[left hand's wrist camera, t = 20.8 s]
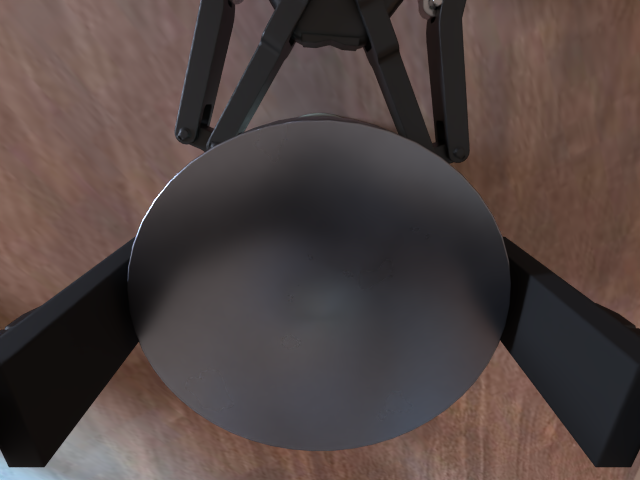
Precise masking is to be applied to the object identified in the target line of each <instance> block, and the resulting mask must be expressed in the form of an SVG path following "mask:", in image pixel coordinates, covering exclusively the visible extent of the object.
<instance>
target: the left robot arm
mask: <svg viewBox="0 0 640 480" xmlns="http://www.w3.org/2000/svg"><path fill="white" fill-rule="evenodd" d="M135 238H136V237H134V238H133V239H131V240H130V241H129V242H127V243H126V244H125V245H123V246H122V247H121V248H119V249H118V250H116V251H115V252H114V253H112V254H111V255H110V256H108V257H107V258H106V259H104V260H103V261H102V262H100V263H99V264H97V265H96V266H95V267H93V268H92V269H91V270H89V271H88V272H87V273H85V274H84V275H83V276H81V277H80V278H78V279H77V280H76V281H74V282H73V283H72V284H70V285H69V286H68V287H66V288H65V289H64V290H62V291H61V292H59V293H58V294H57V295H55V296H54V297H53V298H51V299H50V300H49V301H47V302H46V303H45V304H43V305H42V306H40V307H38V308H36V309H33V310H31V311H29V312H27V313H25V314H23V315H21V316H20V317H19V318H17V319H16V320H14V321H13V322H12V323H10V324H9V325H7V326H6V327H5V330H1V331H0V450H1V452H2V454H3V456H4V458H5V460H6V462H7V464H8V466H9V467H45V466H46V464H47V463H48V462H49V460H50V459H51V458H52V456H53V455H54V454H55V452H56V451H57V450H58V448H59V447H60V446H61V444H62V443H63V442H64V440H65V439H66V438H67V436H68V435H69V434H70V433H71V431H72V430H73V429H74V427H75V426H76V425H77V423H78V422H79V421H80V419H81V418H82V417H83V415H84V414H85V413H86V411H87V410H88V409H89V407H90V406H91V405H92V403H93V402H94V401H95V399H96V398H97V397H98V395H99V394H100V393H101V391H102V390H103V389H104V387H105V386H106V385H107V383H108V382H109V381H110V379H111V378H112V377H113V375H114V374H115V373H116V371H117V370H118V369H119V367H120V366H121V365H122V363H123V362H124V361H125V359H126V358H127V357H128V355H129V354H130V353H131V351H132V350H133V349H134V347H135V346H136V345H137V343H138V342H139V340H138V338H137V335H136V333H135V330H134V326H133V322H132V318H131V315H130V310H129V301H128V291H127V286H128V267H129V262H130V257H131V252H132V248H133V243H134V241H135ZM503 241H504V244H505V248H506V252H507V256H508V260H509V269H510V280H511V289H510V305H509V310H508V315H507V319H506V324H505V328H504V330H503V333H502V336H501V338H500V341H501V342H502V343H503V345H504V346H505V347H506V349H507V350H508V351H509V353H510V354H511V355H512V357H513V358H514V359H515V361H516V362H517V363H518V365H519V366H520V367H521V369H522V370H523V371H524V373H525V374H526V375H527V377H528V378H529V379H530V381H531V382H532V383H533V385H534V386H535V387H536V389H537V390H538V391H539V393H540V394H541V395H542V397H543V398H544V399H545V401H546V402H547V403H548V405H549V406H550V407H551V409H552V410H553V411H554V413H555V414H556V415H557V417H558V418H559V419H560V421H561V422H562V423H563V425H564V426H565V427H566V428H567V430H568V431H569V432H570V434H571V435H572V436H573V438H574V439H575V440H576V442H577V443H578V444H579V446H580V447H581V448H582V450H583V451H584V452H585V454H586V455H587V456H588V458H589V459H590V460H591V462H592V463H593V464H594V466H595V467H631V466H632V464H633V462H634V460H635V458H636V456H637V454H638V452H639V450H640V329H639V328H636V327H635V325H634V324H632V323H631V322H629V321H628V320H627V319H625V318H624V317H622V316H621V315H620V314H618V313H616V312H614V311H612V310H610V309H608V308H605V307H603V306H601V305H599V304H597V303H594V302H593V301H591V300H590V299H589V298H587V297H586V296H585V295H583V294H582V293H581V292H579V291H578V290H576V289H575V288H574V287H572V286H571V285H570V284H568V283H567V282H566V281H564V280H563V279H562V278H560V277H559V276H557V275H556V274H555V273H553V272H552V271H551V270H549V269H548V268H547V267H545V266H544V265H543V264H541V263H540V262H538V261H537V260H536V259H534V258H533V257H532V256H530V255H529V254H528V253H526V252H525V251H524V250H522V249H521V248H519V247H518V246H517V245H515V244H514V243H513V242H511V241H510V240H509V239H507V238H506V237H503Z"/></svg>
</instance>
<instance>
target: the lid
mask: <svg viewBox="0 0 640 480" xmlns="http://www.w3.org/2000/svg"><path fill="white" fill-rule="evenodd" d="M510 289H511V280H510V269H509V260H508V256H507V252H506V248H505V244H504V241H503V237H502V235H501V233H500V230H499V228H498V226H497V223H496V221H495V219H494V217H493V215H492V213H491V212H490V210H489V208H488V207H487V205H486V204H485V202H484V201H483V199H482V198H481V196H480V194H479V193H478V192H477V191H476V190H475V189H474V188H473V187H472V185H471V184H470V183H469V182H468V181H467V180H466V179H465V178H464V176H463V175H462V174H461V173H459V172H458V171H457V170H456V169H455V168H453V167H452V166H451V165H450V164H448V163H447V162H446V161H445V160H444V159H442V158H441V157H440V156H438V155H436V154H435V153H433V152H432V151H430V150H428V149H427V148H425V147H423V146H422V145H420V144H418V143H417V142H414V141H412V140H410V139H407V138H405V137H403V136H401V135H398V134H396V133H393V132H391V131H389V130H386V129H384V128H382V127H379V126H377V125H374V124H370V123H366V122H362V121H359V120H355V119H350V118H341V117H333V116H302V117H296V118H290V119H284V120H278V121H275V122H272V123H269V124H265V125H262V126H259V127H256V128H253V129H251V130H248V131H246V132H244V133H241V134H239V135H237V136H235V137H233V138H231V139H228V140H226V141H224V142H222V143H220V144H218V145H216V146H214V147H212V148H211V149H209V150H208V151H206V152H205V153H203V154H202V155H200V156H199V157H197V158H196V159H194V160H193V161H191V162H190V163H189V164H188V165H187V166H186V167H184V168H183V169H182V170H181V171H180V172H179V173H178V174H177V175H176V176H175V177H173V178H172V179H171V180H170V181H169V183H168V184H167V185H166V186H165V188H164V189H163V190H162V191H161V192H160V194H159V195H158V196H157V197H156V199H155V200H154V201H153V203H152V205H151V207H150V208H149V210H148V212H147V214H146V215H145V217H144V219H143V221H142V222H141V225H140V228H139V230H138V233H137V236H136V238H135V241H134V243H133V248H132V252H131V257H130V262H129V267H128V286H127V291H128V301H129V310H130V315H131V318H132V322H133V326H134V330H135V333H136V335H137V338H138V340H139V343H140V345H141V347H142V350H143V352H144V354H145V355H146V357H147V359H148V360H149V362H150V364H151V366H152V367H153V369H154V370H155V372H156V373H157V374H158V375H159V377H160V378H161V379H162V381H163V382H164V383H165V384H166V386H167V387H168V388H169V389H170V390H171V391H172V392H173V393H174V394H175V395H176V396H177V397H178V398H179V399H180V400H181V401H183V402H184V403H185V404H186V405H188V406H189V407H190V408H191V409H193V410H194V411H195V412H196V413H198V414H199V415H201V416H202V417H204V418H206V419H207V420H209V421H210V422H212V423H213V424H215V425H217V426H219V427H221V428H223V429H225V430H227V431H229V432H231V433H233V434H236V435H239V436H241V437H244V438H247V439H249V440H252V441H256V442H259V443H263V444H267V445H270V446H275V447H281V448H287V449H294V450H307V451H334V450H343V449H352V448H358V447H363V446H368V445H372V444H376V443H379V442H383V441H386V440H389V439H392V438H395V437H397V436H400V435H402V434H405V433H407V432H409V431H412V430H414V429H415V428H417V427H419V426H421V425H423V424H425V423H427V422H428V421H430V420H432V419H433V418H435V417H436V416H437V415H439V414H440V413H442V412H443V411H445V410H446V409H447V408H449V407H450V406H451V405H452V404H453V403H454V402H456V401H457V400H458V399H459V398H460V397H461V396H462V395H463V394H464V393H465V392H466V391H467V390H468V389H469V388H470V387H471V386H472V385H473V384H474V382H475V381H476V380H477V379H478V377H479V376H480V375H481V373H482V372H483V370H484V369H485V368H486V366H487V365H488V363H489V361H490V359H491V357H492V356H493V354H494V352H495V350H496V348H497V346H498V344H499V341H500V338H501V336H502V333H503V330H504V328H505V324H506V319H507V315H508V310H509V305H510Z"/></svg>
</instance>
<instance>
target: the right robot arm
mask: <svg viewBox="0 0 640 480" xmlns="http://www.w3.org/2000/svg"><path fill="white" fill-rule="evenodd" d="M269 1H270V3H271V4H272V6H273V8H274V10H275V11H274V13H273V15H272V17H271V19H270V20H269V22H268V24H267V26H266V28H265V30H264V32H263V34H262V37H261V41H260V44H259V46H258V47H257V49H256V51H255V53H254V55H253V57H252V59H251V61H250V63H249V64H248V66H247V68H246V70H245V72H244V74H243V76H242V78H241V80H240V81H239V83H238V85H237V87H236V89H235V91H234V93H233V95H232V96H231V98H230V100H229V102H228V104H227V106H226V108H225V110H224V112H223V113H222V115H221V117H220V119H219V121H218V123H217V125H216V127H215V129H214V128H211V127H209V126H210V121H211V117H212V113H213V109H214V104H215V100H216V96H217V92H218V87H219V83H220V79H221V75H222V70H223V66H224V62H225V58H226V53H227V49H228V45H229V41H230V36H231V32H232V28H233V23H234V16H235V4H240V3H241V2H243V0H201V2H200V7H199V12H198V17H197V22H196V27H195V32H194V37H193V42H192V47H191V52H190V57H189V62H188V67H187V72H186V77H185V82H184V87H183V92H182V97H181V102H180V106H179V111H178V116H177V121H176V126H175V136H176V138H177V140H178V141H179V142H181V143H182V144H190V145H192V146H194V147H197V148H199V149H201V150H203V151H204V152H206V151H208V150H209V149H211V148H212V147H214V146H216V145H218V144H220V143H222V142H224V141H226V140H228V139H231V138H233V137H235V136H237V135H239V134H241V133H244V131H245V129H246V128H247V126H248V124H249V122H250V120H251V119H252V117H253V115H254V113H255V112H256V110H257V108H258V106H259V104H260V103H261V101H262V99H263V97H264V96H265V94H266V92H267V90H268V88H269V87H270V85H271V83H272V81H273V80H274V78H275V76H276V74H277V72H278V71H279V69H280V67H281V65H282V64H283V62H284V60H285V59H286V58H287V57H288V55H289V53H290V52H291V50H292V48H293V46H294V45H295V43H296V42H297V43H299V44H301V45H303V47H310V48H318V47H323V46H327V45H331V46H334V47H336V48H339V49H341V50H349V51H356V50H357V49H359V48H362V47H363V48H364V51H365V53H366V56H367V58H368V61H369V63H370V65H371V66H372V68H373V70H374V73H375V75H376V78H377V80H378V83H379V86H380V88H381V91H382V93H383V96H384V98H385V101H386V103H387V106H388V109H389V111H390V114H391V116H392V119H393V121H394V124H395V127H396V129H397V132H398V134H399V135H401V136H403V137H405V138H407V139H410V140H412V141H414V142H417V143H418V144H420V145H422V146H423V147H425V148H427V149H428V150H430V151H432V152H433V153H435V154H436V155H438V156H440V157H441V158H442V159H444V160H445V161H446V162H447V163H448V164H449V163H453V162H455V163H460V162H463V161H464V160H466V159H467V157H468V155H469V151H470V150H469V133H468V116H467V99H466V82H465V64H464V47H463V30H462V16H463V12H464V7H465V3H466V0H418V3H419V13H420V15H421V17H423V18H424V19H427V28H426V40H427V52H428V63H429V74H430V84H431V95H432V106H433V117H434V128H435V139H436V143H432V142H431V139H430V136H429V134H428V131H427V128H426V125H425V123H424V120H423V117H422V114H421V111H420V109H419V106H418V103H417V100H416V97H415V95H414V92H413V89H412V86H411V84H410V81H409V78H408V75H407V72H406V70H405V67H404V64H403V61H402V59H401V56H400V52H399V44H398V41H397V38H396V35H395V32H394V29H393V26H392V24H391V21H390V17H391V16H392V14H393V13H394V12H395V11H396V9H397V8H398V7H399V5H400V4H401V3H402V2H403V0H269Z"/></svg>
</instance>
